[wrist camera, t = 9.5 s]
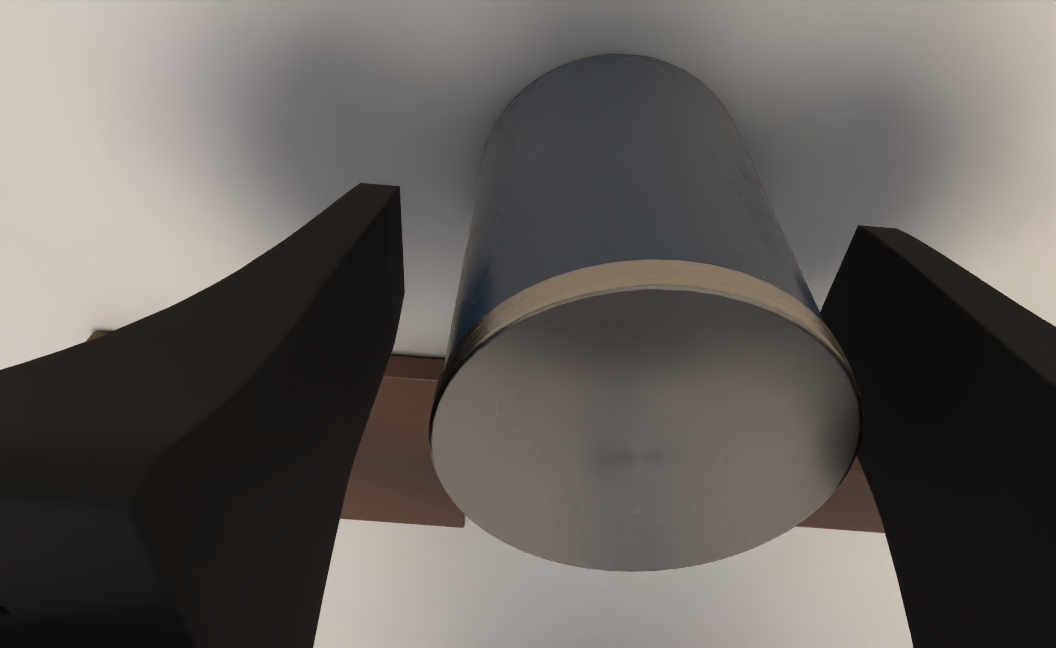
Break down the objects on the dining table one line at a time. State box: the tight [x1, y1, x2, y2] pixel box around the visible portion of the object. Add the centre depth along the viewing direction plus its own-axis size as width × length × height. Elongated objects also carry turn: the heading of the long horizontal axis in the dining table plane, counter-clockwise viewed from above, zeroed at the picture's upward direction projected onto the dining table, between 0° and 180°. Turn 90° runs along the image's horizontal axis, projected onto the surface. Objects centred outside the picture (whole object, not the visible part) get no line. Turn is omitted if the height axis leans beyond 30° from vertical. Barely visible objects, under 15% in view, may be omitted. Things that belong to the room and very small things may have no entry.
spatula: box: [86, 332, 885, 533], centre depth 18 cm, size 6×26×1 cm, turn 86°
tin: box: [428, 55, 864, 572], centre depth 11 cm, size 5×5×6 cm
